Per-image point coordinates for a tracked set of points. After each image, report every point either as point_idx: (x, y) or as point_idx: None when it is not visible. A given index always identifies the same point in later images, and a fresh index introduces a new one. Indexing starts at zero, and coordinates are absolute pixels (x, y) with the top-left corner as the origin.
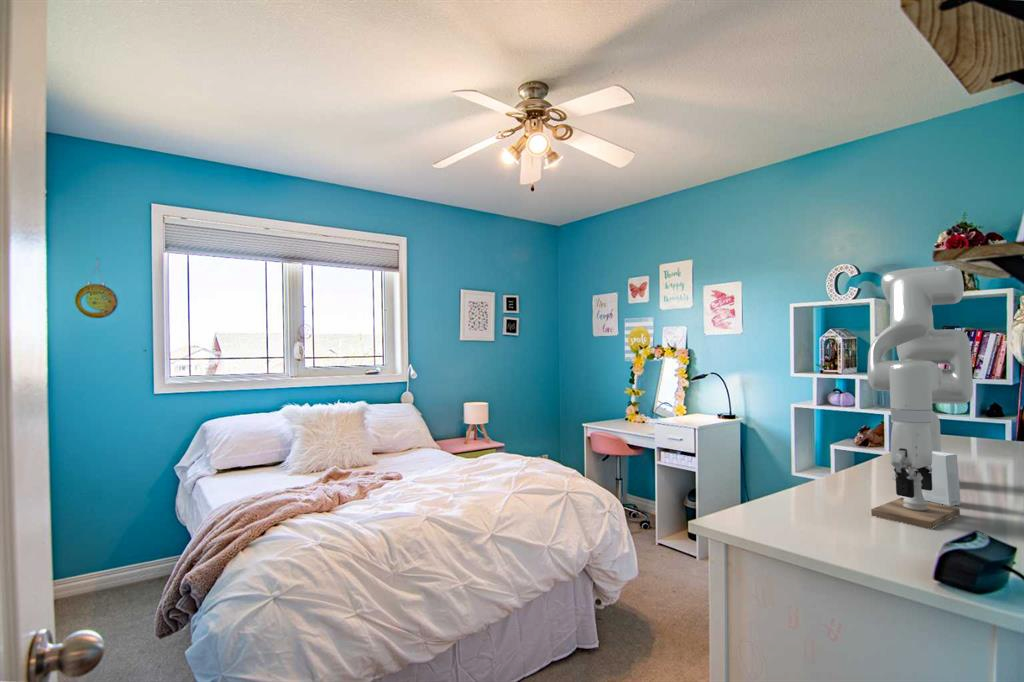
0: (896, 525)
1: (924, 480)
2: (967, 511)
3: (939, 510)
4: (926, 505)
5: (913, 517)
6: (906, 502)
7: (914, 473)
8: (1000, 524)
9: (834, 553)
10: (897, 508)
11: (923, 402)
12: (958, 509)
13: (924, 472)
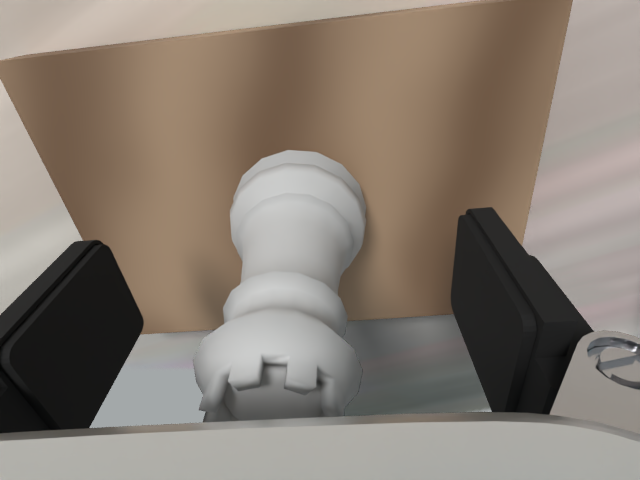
0: (37, 220)
1: (475, 332)
2: (602, 279)
3: (375, 282)
4: (432, 209)
5: None
6: (233, 205)
7: (325, 396)
8: (457, 389)
9: None
10: (195, 151)
11: None
12: None
13: (521, 403)
